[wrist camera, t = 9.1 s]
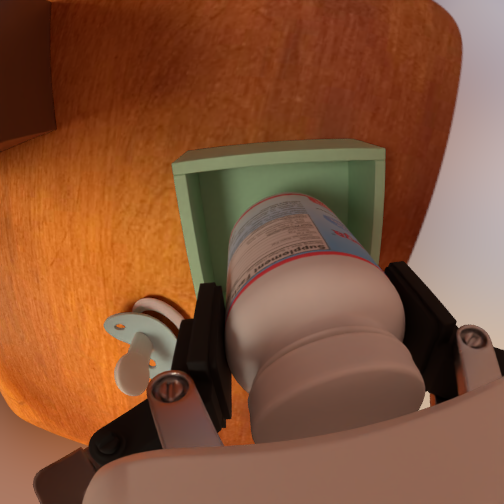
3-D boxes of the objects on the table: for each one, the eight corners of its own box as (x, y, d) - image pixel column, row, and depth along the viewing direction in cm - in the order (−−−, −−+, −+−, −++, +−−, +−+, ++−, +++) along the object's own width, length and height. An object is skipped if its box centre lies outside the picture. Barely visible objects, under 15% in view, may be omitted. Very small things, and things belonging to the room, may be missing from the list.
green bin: (187, 150, 17) (171, 163, 13) (353, 138, 17) (385, 148, 13) (210, 295, 22) (205, 337, 18) (349, 280, 22) (370, 318, 18)
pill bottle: (350, 264, 17) (444, 423, 7) (256, 304, 18) (276, 486, 8) (317, 169, 15) (457, 292, 5) (208, 218, 16) (169, 405, 6)
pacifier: (162, 280, 21) (102, 307, 22) (144, 337, 15) (75, 361, 16) (210, 348, 24) (152, 367, 25) (208, 408, 19) (140, 423, 19)
